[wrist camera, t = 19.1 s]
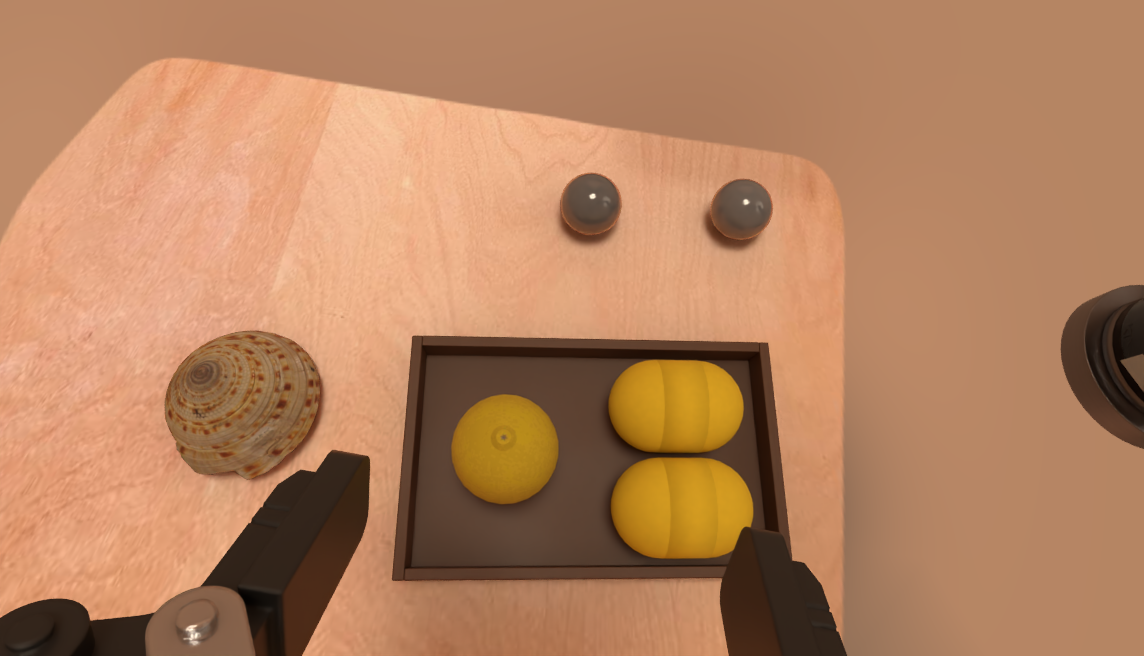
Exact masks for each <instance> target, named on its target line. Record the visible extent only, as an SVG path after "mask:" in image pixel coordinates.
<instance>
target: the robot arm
mask: <svg viewBox="0 0 1144 656" xmlns="http://www.w3.org/2000/svg"><path fill="white" fill-rule="evenodd" d="M1102 347H1103V355H1104V359H1105V363H1106V366H1107V368H1108V371H1109V373H1110V375H1111V377H1112V379H1113V381H1114V382H1115V384H1116V385H1117V387H1118V388H1119V390H1120V391H1121V392H1122V393H1123V395H1124V396H1125V397H1126V398H1127V399H1128V400H1129V401H1130V402H1131V403H1132V404H1133V405H1134V406H1135V407H1136V408H1137V409H1139V410H1140V411H1141V412H1143V413H1144V298H1142V299H1138V300H1135V301H1133V302H1130V303H1128V304H1125V305H1123V306H1121V307H1120V308H1119V309H1117V310H1116V311H1115V312H1114V313H1113V314H1112V315H1111V316H1110V318H1109V319H1108V321H1107V323H1106V325H1105V328H1104V332H1103V340H1102ZM369 479H370V459H369V457H368V456H365V455H359V454H354V453H348V452H343V451H337V450H332V451H331V452H330V453H329V454H328V455H327V457H326V458H325V459H324V461H323V462H322V464H321V465H320V467H319V468H318V470H317V471H316V472H311V471H305V470H299V471H298V472H296V473H295V474H293V475H292V476H290V477H289V478H287V479H286V480H284V481H283V482H281V483H279V484H278V485H277V487H276V488H275V489H274V490H273V492H272V493H271V494H270V496H269V497H268V498H267V500H266V501H265V502H264V505H263V507H261V508H260V509H259V510H258V512H257V513H256V514H255V516H254V517H253V518H252V521H251V523H249V524H248V525H247V526H246V528H245V529H244V530H243V532H242V533H241V534H240V536H239V537H238V538H237V539H236V541H235V542H234V543H233V545H232V546H231V547H230V549H229V550H228V551H227V553H226V554H225V555H224V557H223V558H222V559H221V561H220V562H219V563H218V565H217V566H216V567H215V569H214V570H213V571H212V573H211V574H210V575H209V577H208V578H207V579H206V581H205V582H204V583H203V584H202V585H201V586H200V587H198V588H194V589H191V590H188V591H185V592H183V593H181V594H179V595H177V596H175V597H173V598H172V599H170V600H168V601H167V602H166V603H165V604H163V605H162V606H161V607H160V608H159V609H158V610H157V611H156V612H155V613H151V614H146V615H140V616H131V617H122V618H112V619H103V620H93V621H90V617H89V614H88V611H87V610H86V608H85V607H84V606H83V605H81V604H80V603H78V602H76V601H73V600H68V599H47V600H42V601H37V602H34V603H30V604H27V605H25V606H22V607H20V608H17V609H15V610H13V611H11V612H9V613H8V614H6V615H4V616H3V617H1V618H0V656H302V654H303V652H304V650H305V648H306V646H307V645H308V643H309V641H310V639H311V637H312V635H313V633H314V631H315V629H316V627H317V625H318V623H319V621H320V619H321V617H322V615H323V613H324V611H325V609H326V607H327V605H328V603H329V601H330V599H331V597H332V595H333V594H334V592H335V590H336V588H337V586H338V584H339V582H340V580H341V578H342V576H343V574H344V572H345V570H346V568H347V566H348V564H349V562H350V560H351V558H352V556H353V554H354V552H355V550H356V548H357V546H358V545H359V543H360V540H361V538H362V536H363V533H364V530H365V526H366V522H367V517H368V509H369ZM720 607H721V613H722V619H723V625H724V631H725V636H726V642H727V648H728V654H729V656H847V654H846V651H845V649H844V646H843V643H842V640H841V638H840V635H839V632H837V631H836V624H835V621H834V618H833V616H832V613H831V612H829V608H830V607H829V605H828V602H827V599H826V596H825V594H824V591H823V588H822V585H821V584H820V582H819V581H818V580H817V579H816V577H815V576H814V575H813V574H812V572H811V571H810V570H809V568H808V567H807V566H806V565H805V563H802V562H797V561H791V557H790V554H789V551H788V548H787V545H786V542H785V539H784V537H783V535H782V534H781V533H779V532H773V531H768V530H762V529H757V528H752V527H744V528H743V529H742V530H741V532H740V535H739V537H738V540H737V542H736V545H735V547H734V550H733V553H732V555H731V558H730V560H729V563H728V565H727V568H726V571H725V573H724V576H723V579H722V583H721V590H720Z"/></svg>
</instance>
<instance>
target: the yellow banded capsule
mask: <svg viewBox="0 0 1144 656" xmlns="http://www.w3.org/2000/svg"><path fill="white" fill-rule="evenodd" d="M611 515H612V519H613V522H614V526H615V527H616V529H617V531H618V533H619V535H620V536H621V538H622V539H623V540H624V542H625V543H626V544H628V545H629V546H630V547H631V548H632V549H634V550H635V551H637V552H639V553H641V554H642V555H645V556H648V557H652V558H661V559H680V558H714V557H719V556H722V555H725V554H728V553H729V552H731V551H732V550H734V547H735V545H736V542H737V540H738V537H739V535H740V532H741V530H742V529H743V528H744V527H751V524H752V520H753V502H752V497H751V494H750V492H749V489H748V487H747V485H746V483H745V482H744V481H743V479H742V478H741V477H740V475H739V474H738V473H737V472H735V471H734V470H733V469H732V468H731V467H729V466H727V465H725V464H724V463H722V462H720V461H717V460H714V459H708V458H666V457H658V458H649V459H645V460H642V461H639V462H637V463H635V464H634V465H632V466H630V467H629V468H628V469H627V470H626V471H625V472H624V473H623V474H622V475H621V477H620V478H619V479H618V481H617V483H616V485H615V487H614V490H613V494H612V498H611Z"/></svg>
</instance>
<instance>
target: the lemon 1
mask: <svg viewBox="0 0 1144 656" xmlns="http://www.w3.org/2000/svg"><path fill="white" fill-rule="evenodd" d="M451 451H452V462H453V465H454V468H455V471H456V474H457V476H458V477H459V479H460V480H461V482H462V483H463V485H464V486H465V487H466V488H467V489H468V490H469V491H470V492H471V493H473V494H474V495H475V496H477V497H479V498H481V499H483V500H485V501H487V502H492V503H497V504H512V503H517V502H520V501H523V500H526V499H528V498H530V497H531V496H533V495H534V494H536V493H537V492H539V491H540V490H541V489H542V488H543V486H544V485H545V484H546V483H547V482H548V481H549V479H550V477H551V475H552V474H553V472H554V470H555V467H556V463H557V459H558V438H557V434H556V430H555V427H554V425H553V423H552V422H551V420H550V418H549V416H548V415H547V414H546V413H545V412H544V411H543V410H542V409H541V408H540V407H539V406H538V405H536V404H535V403H533V402H532V401H530V400H529V399H526V398H523V397H520V396H517V395H506V394H502V395H496V396H491V397H488V398H486V399H484V400H481V401H479V402H478V403H476V404H475V405H474V406H472V407H471V408H470V409H469V410H468V411H467V412H466V413H465V414H464V416H463V417H462V418H461V419H460V421H459V423H458V425H457V427H456V429H455V432H454V435H453V440H452V446H451Z"/></svg>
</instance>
